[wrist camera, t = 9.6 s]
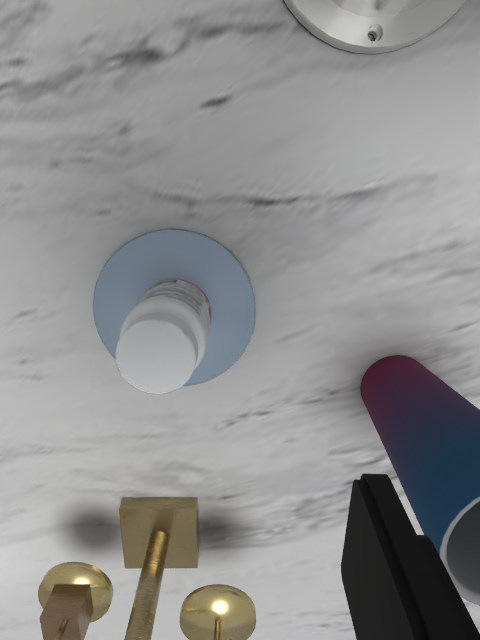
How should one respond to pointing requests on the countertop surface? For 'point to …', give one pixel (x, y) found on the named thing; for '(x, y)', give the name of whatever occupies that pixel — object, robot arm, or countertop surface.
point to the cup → (432, 459)
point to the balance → (145, 580)
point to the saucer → (185, 263)
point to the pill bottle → (164, 336)
